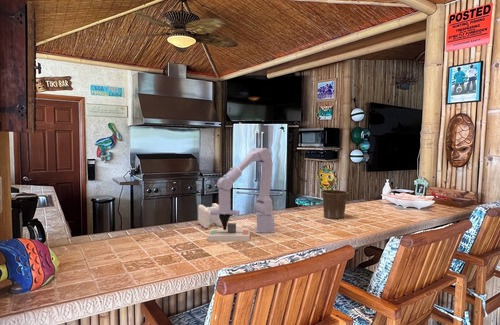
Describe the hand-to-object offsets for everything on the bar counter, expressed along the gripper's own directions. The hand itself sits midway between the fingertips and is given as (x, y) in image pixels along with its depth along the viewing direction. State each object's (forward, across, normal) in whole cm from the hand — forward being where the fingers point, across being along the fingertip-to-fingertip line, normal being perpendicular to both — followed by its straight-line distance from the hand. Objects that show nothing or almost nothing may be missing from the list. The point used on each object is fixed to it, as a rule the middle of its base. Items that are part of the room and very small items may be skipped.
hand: (224, 229), depth 156 cm
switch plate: (+4, +2, 0) cm, 5 cm away
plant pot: (+4, +64, +43) cm, 77 cm away
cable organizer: (+4, -11, +22) cm, 25 cm away
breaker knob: (+1, +3, 0) cm, 4 cm away
